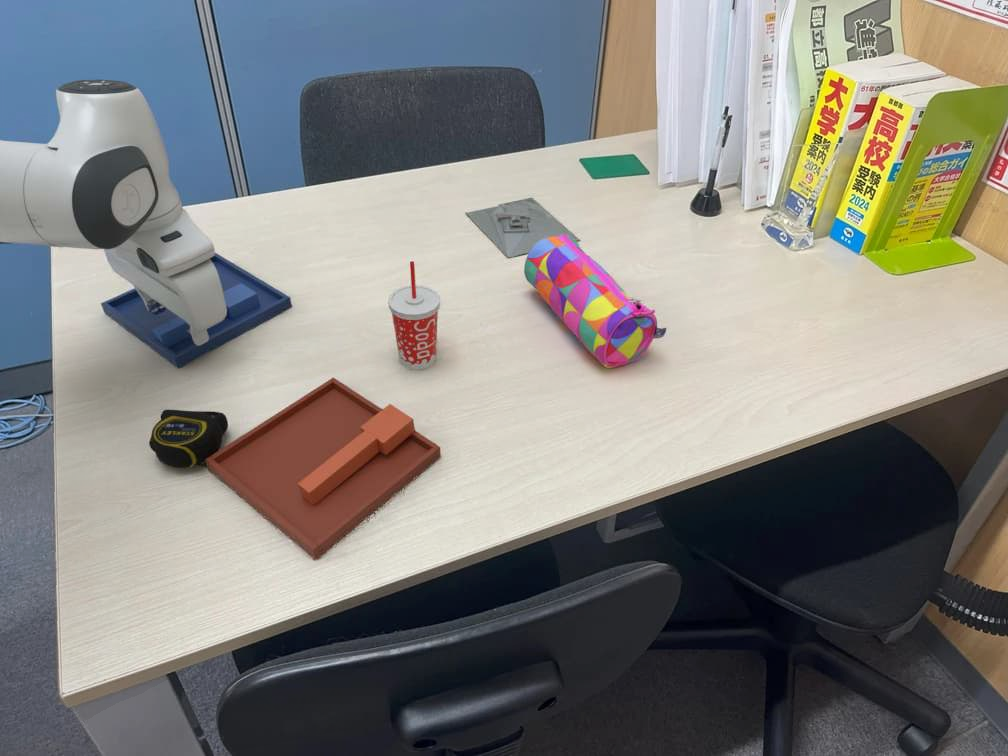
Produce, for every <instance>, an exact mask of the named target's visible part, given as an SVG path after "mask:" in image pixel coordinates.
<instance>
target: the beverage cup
mask: <svg viewBox="0 0 1008 756" xmlns="http://www.w3.org/2000/svg"><path fill="white" fill-rule="evenodd" d="M409 268H410V284H408V285H404V286H400V287H397V288H396V289H394V290H393V291H392V292H391V293H390V294H389V295H388V300H387V304H388V308H389V311H390V313H391V317H392V323H393V329H394V335H395V340H396V341H395V342H396V348H397V354H398V360H399V362H400V364H401V365H402V366H403V367H405V368H406V369H409V370H414V371H415V370H416V371H421V370H426V369H428V368H430V367H432V366H433V365H434V364H435V362H436V360H437V342H438V320H439V319H438V318H439V317H438V316H439V313H438V312H439V310H440V309H441V296H440V294H439V292H438V291H437V290H436V289H434V288H432V287H430V286H428V285H423V284H416V271H415V269H416V268H415V261H412V260H411V261H409Z"/></svg>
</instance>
